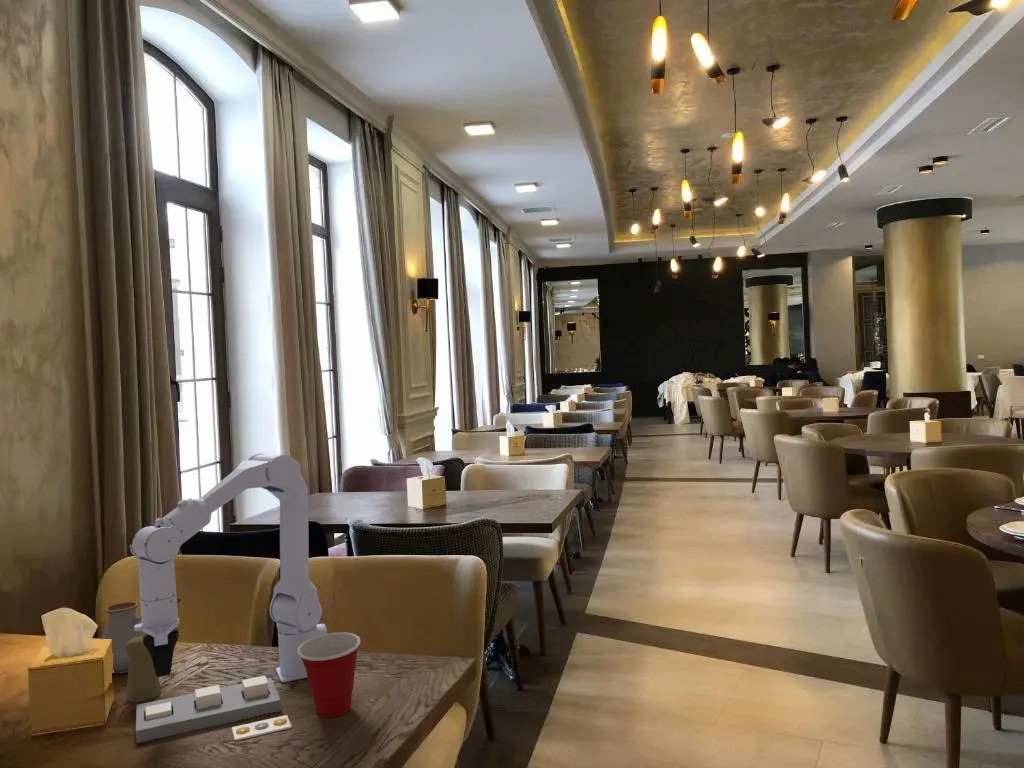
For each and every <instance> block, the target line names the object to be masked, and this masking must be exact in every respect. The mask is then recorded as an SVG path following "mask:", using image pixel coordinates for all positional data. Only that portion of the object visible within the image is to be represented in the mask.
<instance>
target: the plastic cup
mask: <svg viewBox="0 0 1024 768" xmlns="http://www.w3.org/2000/svg"><path fill="white" fill-rule="evenodd" d="M360 645H361V637H360V636H359V635H357V634H355V633H351V632H331V633H327V634H324V635H320V636H317V637H314V638H311V639H309V640H308V641H306V642H304V643H302V644H301V645H300V646H299V647H298V652H297V653H298V655H299V656H300V657H301V659H302V662H303V663H304V667H305V669H306V673H307V680H308V685H309V689H310V693H311V697H312V698H313V699H312V700H313V705H314V709H315V711H316V714H317V715H318V716H319V717H321V718H334V717H335V718H336V717H340V716H343V715H345V714H347V713H348V712H350V710H351V706H352V701H353V700H352V698H353V691H354V684H355V674H356V673H355V672H356V662H357V659H358V658H357V657H358V650H359V646H360Z"/></svg>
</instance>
